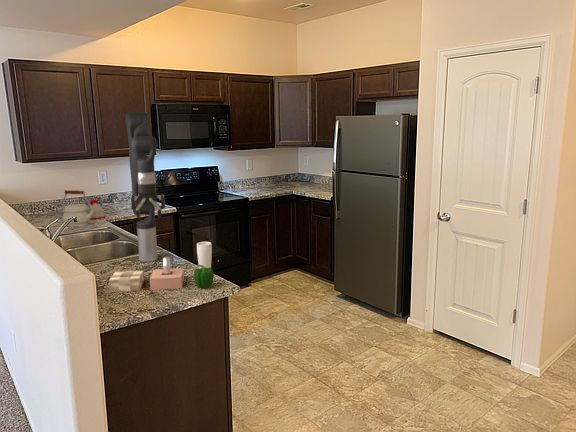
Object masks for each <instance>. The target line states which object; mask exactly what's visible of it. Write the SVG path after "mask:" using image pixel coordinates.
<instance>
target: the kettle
mask: <svg viewBox="0 0 576 432" xmlns="http://www.w3.org/2000/svg"><path fill="white" fill-rule="evenodd" d="M68 194H69V195H83V197H84V199H85V200H86V201H87V204H88V206H87V205H86V204H84V203H79V201H78V200H76V199H75V200H73V201H72V203H71V204H68V205H66V206H64V201H65V199H66V198H67V195H68ZM90 202H91V201H90V200H89V199H88V198H87V197H86V195H85V190H67V189H66V190H64V197H63V199H62V200H61V204H60V205H61V206H62V209H63V210H62V212H63V213H62V221H63V222H64V223H65V221H66V220H68V219H70V218H72V217H77V222H74V221H72V222H71V223H69V225H68V226H67V227H69V228H72V227H74V228H76V227H83V226H87V225H89V222H90V221H91V220H90V219H91V217H92V215H93V213H94V210H91V212H90V211H89V210H90V205H91V204H90ZM88 207H89V208H88Z"/></svg>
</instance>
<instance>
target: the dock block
mask: <svg viewBox="0 0 576 432" xmlns="http://www.w3.org/2000/svg"><path fill="white" fill-rule="evenodd" d="M170 270H171V275H164V272H163V268H160V269H157V268H156V269H153V271H152V273H151V275H150V278H149V289H150V291H154V290H155V291H159V290H160V291H161V290H162V291H163V290H174V289H177V290H179V289H183V285H184V281H185V280H184V279H185V272H184V267H181V268H180V267H179V268H178V267H177V268H170Z"/></svg>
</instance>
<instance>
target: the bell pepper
mask: <svg viewBox="0 0 576 432" xmlns="http://www.w3.org/2000/svg"><path fill="white" fill-rule="evenodd" d="M196 267H197V268H196V269H194V272H193V279H194V280H193V281H194V283H195V286H196V287H197V288H198V289H208V288H209V289H210V288H211V287H212V285H213V282H214V278H215V276H214V274H215V273H214V270H213V269H212V266H211V267H210V268H205V267H204V266H203V265H199V264H197V265H196ZM199 267H202V268H200V269H199Z"/></svg>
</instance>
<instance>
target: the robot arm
mask: <svg viewBox="0 0 576 432" xmlns="http://www.w3.org/2000/svg"><path fill="white" fill-rule="evenodd" d="M125 125H126V126H125V127H126V133H127V140H128V149H129V150H128V153H129V154H128V155H129V170H130V179H131V197H130V198H131V199H130V202H131V203H130V205H131V210H132V212H133V215H136V218H137V219H138V220H139V219H141V216H143V215H148V216H147V217H145V218H144V219H142V220H139V221H137V223H136V232H137V233H136V234H137V235H136V236H137V246H138V247H137V248H138V258H139V259H138V260H139V261H140V262H146V263H147V262H148V263H149V262H153V261H156V260H158V244H157V243H158V242H157V241H158V240H157V229H156V228H157V227H156V225H157V224H156V214H155V213H156V209H157V219H161V217H162V210H163V209H165V208H166V201H165V200H166V199H165V195H164V194H161V195H160V194H159V195H158V194H157V182H156V179H157V178H156V173H155V157H156V152H157V148H158V141H157V139H156V138H155V136H154V135H153V136H152V135H151V118H150V115H149V113H148V112H145V111H128V112H127V113H126V114H125ZM158 199H159V201H160V202H161V205H160V204H159V203H158V201H157V200H158Z"/></svg>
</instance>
